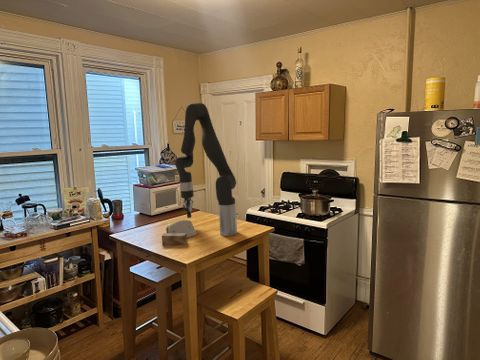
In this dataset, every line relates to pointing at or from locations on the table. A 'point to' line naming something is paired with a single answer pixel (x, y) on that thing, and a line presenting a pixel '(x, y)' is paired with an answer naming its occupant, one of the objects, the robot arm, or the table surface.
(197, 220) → the table surface
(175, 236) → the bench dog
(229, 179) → the robot arm
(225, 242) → the table surface
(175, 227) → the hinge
